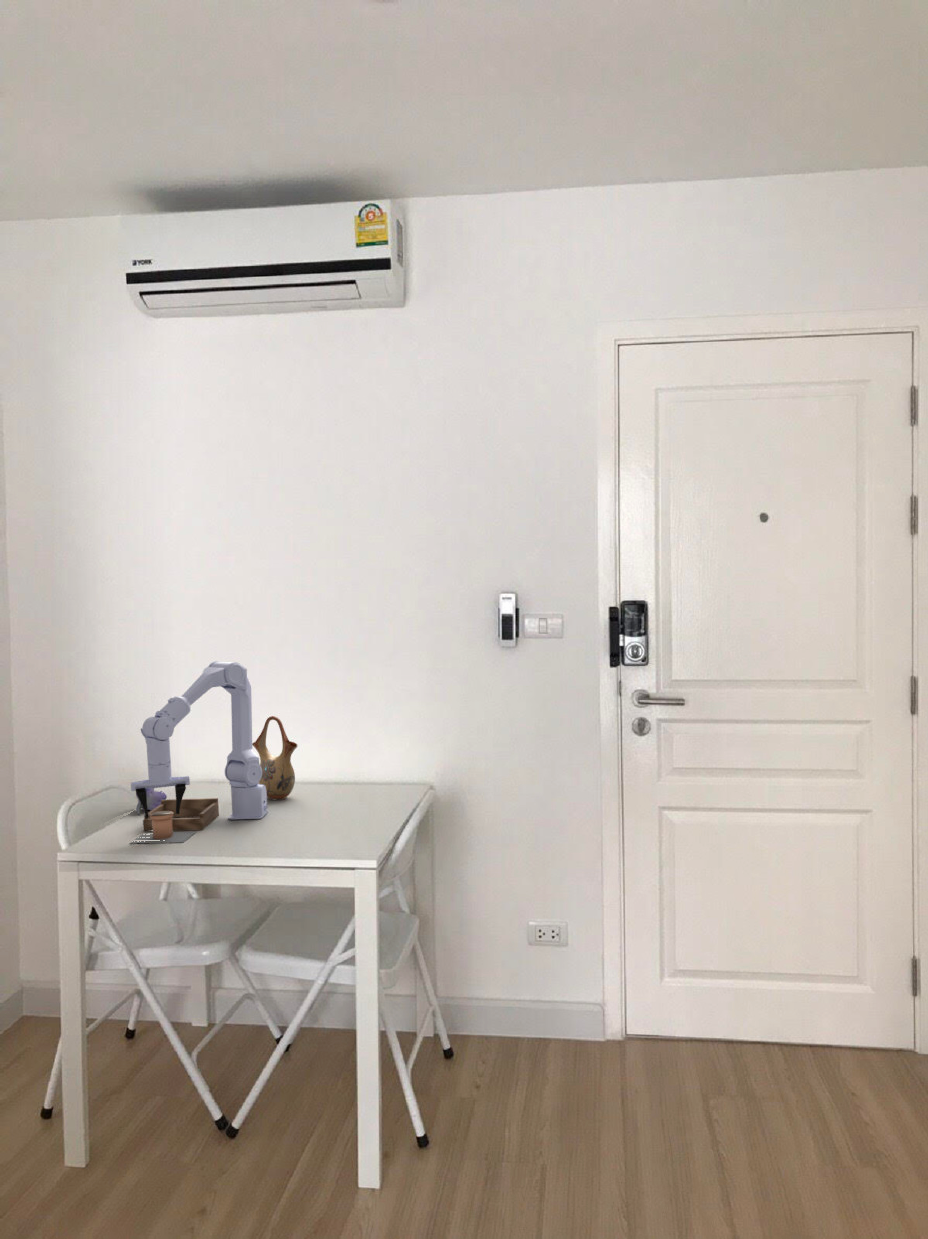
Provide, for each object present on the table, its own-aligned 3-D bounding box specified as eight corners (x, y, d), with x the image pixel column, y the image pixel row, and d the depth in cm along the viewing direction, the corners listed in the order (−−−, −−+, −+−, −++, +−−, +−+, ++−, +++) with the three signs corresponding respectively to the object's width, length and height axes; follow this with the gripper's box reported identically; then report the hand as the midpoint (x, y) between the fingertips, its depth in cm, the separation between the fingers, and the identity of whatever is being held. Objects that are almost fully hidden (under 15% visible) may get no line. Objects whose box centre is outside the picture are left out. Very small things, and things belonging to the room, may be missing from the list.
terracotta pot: (174, 832, 266) (172, 809, 266) (174, 838, 261) (173, 814, 260) (151, 835, 264) (149, 812, 264) (151, 840, 259) (150, 817, 258)
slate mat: (195, 832, 266) (195, 831, 266) (183, 842, 256) (183, 842, 256) (143, 833, 267) (143, 832, 267) (129, 844, 257) (129, 843, 257)
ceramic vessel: (308, 797, 303) (304, 714, 301) (289, 804, 295) (285, 719, 293) (265, 793, 310) (261, 712, 309) (246, 799, 303) (241, 717, 301)
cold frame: (218, 815, 284) (218, 798, 283) (202, 829, 269) (201, 811, 269) (163, 817, 285) (162, 799, 284) (143, 831, 270) (142, 812, 269)
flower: (147, 794, 285) (154, 772, 293) (122, 806, 286) (130, 784, 295) (166, 816, 289) (173, 794, 297) (142, 828, 290) (149, 806, 299)
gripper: (186, 757, 267) (189, 808, 268) (129, 763, 262) (132, 815, 263) (189, 762, 260) (192, 814, 261) (130, 768, 255) (133, 821, 256)
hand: (162, 815), depth 261 cm, fingers open, 7 cm apart
